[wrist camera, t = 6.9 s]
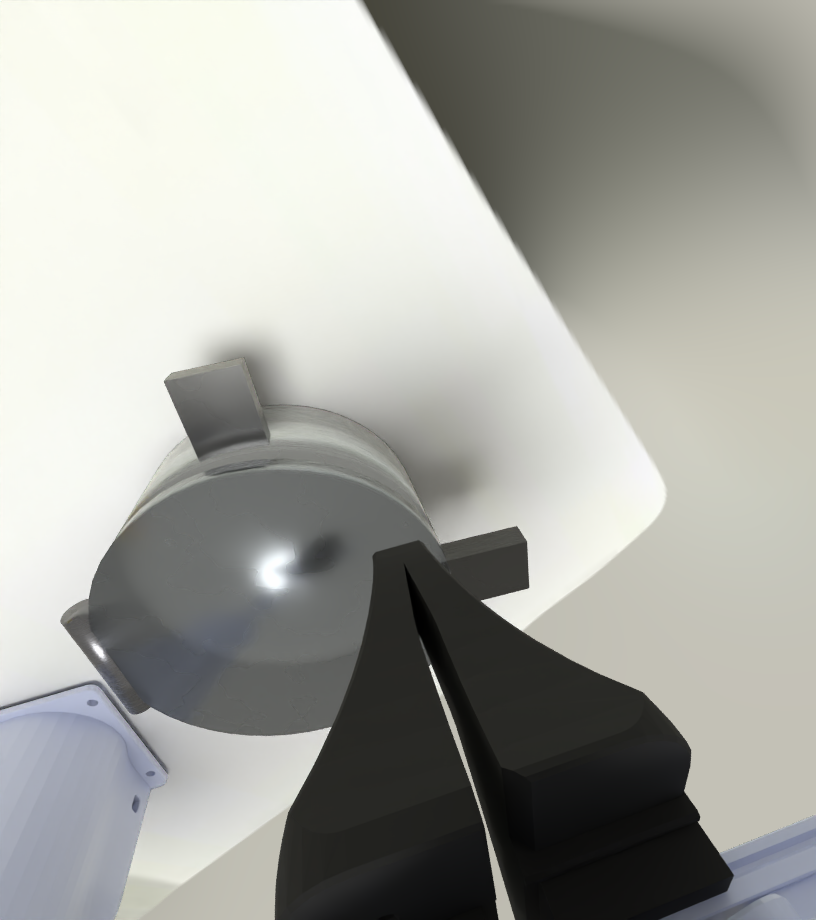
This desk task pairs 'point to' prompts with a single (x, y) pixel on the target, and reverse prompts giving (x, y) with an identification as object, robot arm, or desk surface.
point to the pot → (263, 433)
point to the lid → (259, 592)
